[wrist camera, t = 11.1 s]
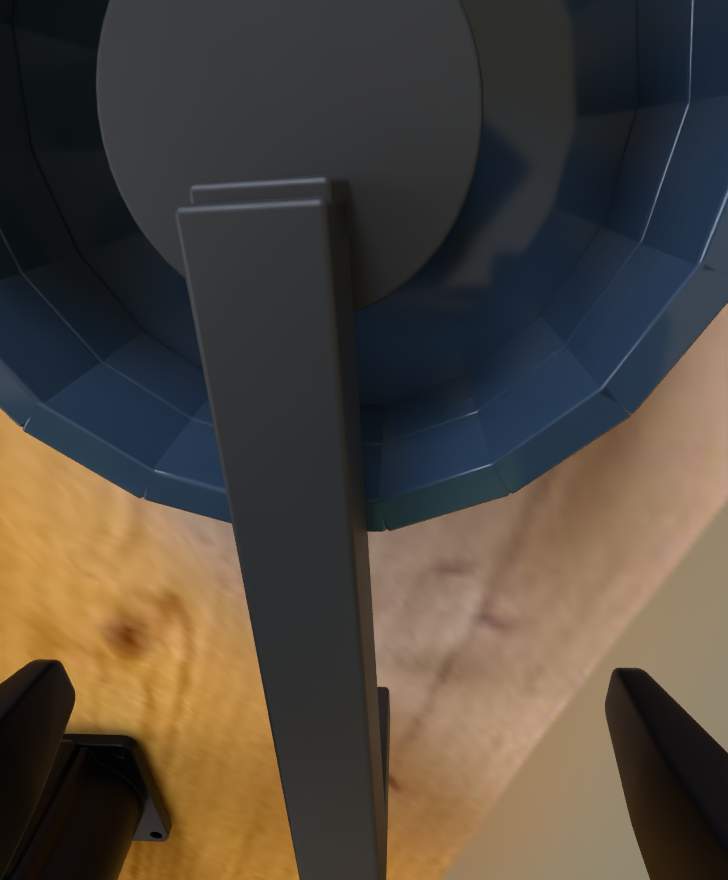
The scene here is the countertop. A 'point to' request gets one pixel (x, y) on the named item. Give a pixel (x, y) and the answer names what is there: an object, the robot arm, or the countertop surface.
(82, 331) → the bowl
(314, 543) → the dark grey handle
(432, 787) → the countertop surface
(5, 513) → the countertop surface
